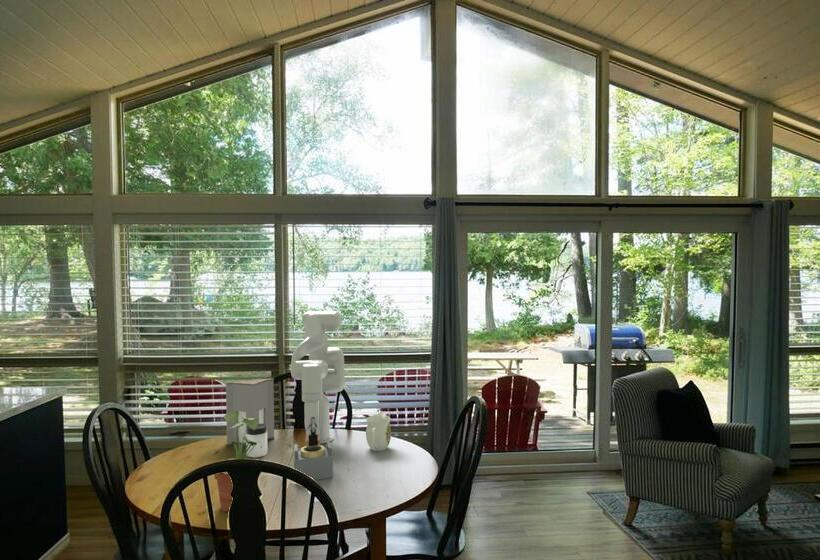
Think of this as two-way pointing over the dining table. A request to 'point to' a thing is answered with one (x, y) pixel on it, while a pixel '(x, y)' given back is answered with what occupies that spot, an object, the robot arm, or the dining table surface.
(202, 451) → the dining table surface
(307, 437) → the cocktail shaker
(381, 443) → the pitcher
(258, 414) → the cabinet
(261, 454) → the jar
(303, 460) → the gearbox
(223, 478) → the potted plant
